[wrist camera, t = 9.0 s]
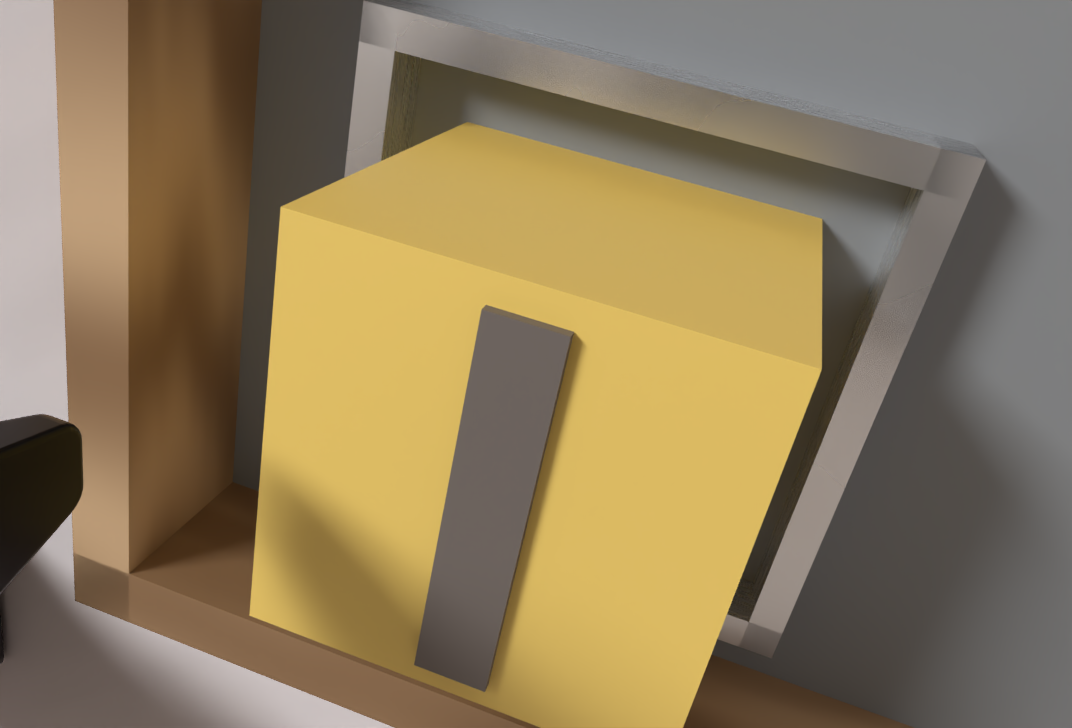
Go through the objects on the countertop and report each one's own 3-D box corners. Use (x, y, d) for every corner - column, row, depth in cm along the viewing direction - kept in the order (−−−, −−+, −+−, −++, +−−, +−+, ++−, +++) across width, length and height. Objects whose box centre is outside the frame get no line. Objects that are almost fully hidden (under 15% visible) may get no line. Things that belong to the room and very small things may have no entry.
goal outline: (774, 615, 17) (771, 658, 16) (338, 463, 19) (310, 493, 18) (973, 144, 13) (986, 160, 12) (396, -3, 15) (363, 0, 14)
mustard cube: (713, 522, 17) (661, 785, 12) (417, 423, 18) (243, 622, 13) (822, 218, 14) (821, 375, 9) (467, 121, 15) (273, 210, 10)
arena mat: (1042, 802, 18) (1048, 827, 18) (199, 494, 21) (182, 508, 21) (2367, -1150, 7) (2487, -1236, 7) (268, -1193, 11) (239, -1255, 10)
